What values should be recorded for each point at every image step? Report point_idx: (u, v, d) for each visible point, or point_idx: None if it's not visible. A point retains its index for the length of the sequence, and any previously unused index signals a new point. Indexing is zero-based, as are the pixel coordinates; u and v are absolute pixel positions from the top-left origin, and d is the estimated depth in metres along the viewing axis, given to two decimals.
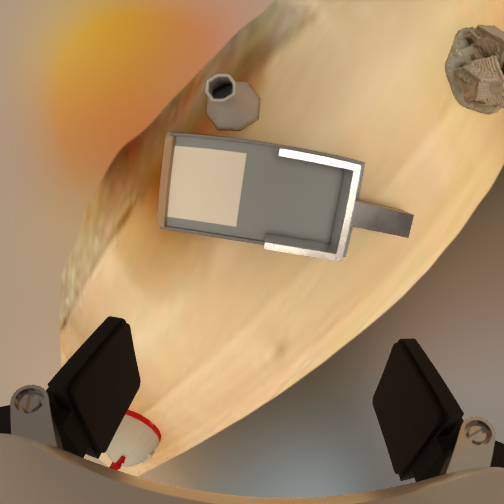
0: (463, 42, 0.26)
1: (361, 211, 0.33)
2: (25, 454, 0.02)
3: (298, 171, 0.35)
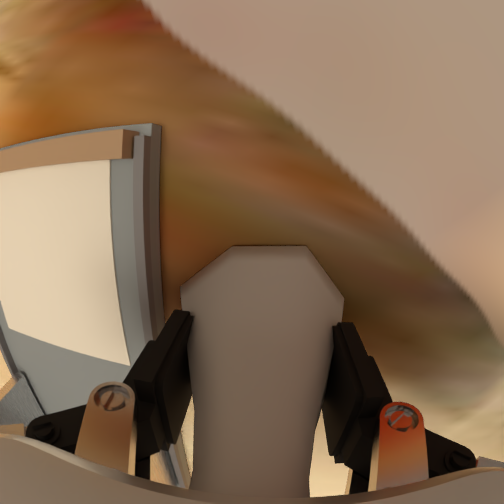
0: None
1: None
2: (25, 454, 0.02)
3: None
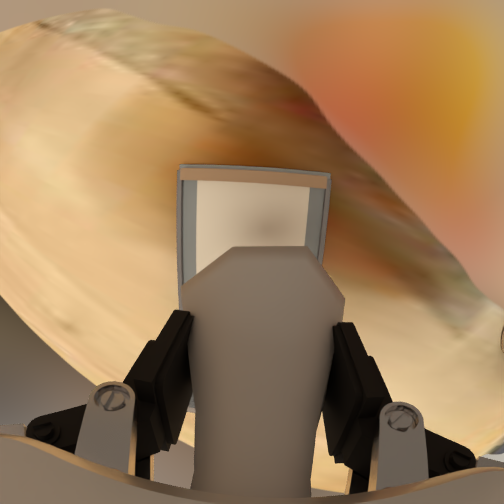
0: None
1: None
2: (25, 454, 0.02)
3: None
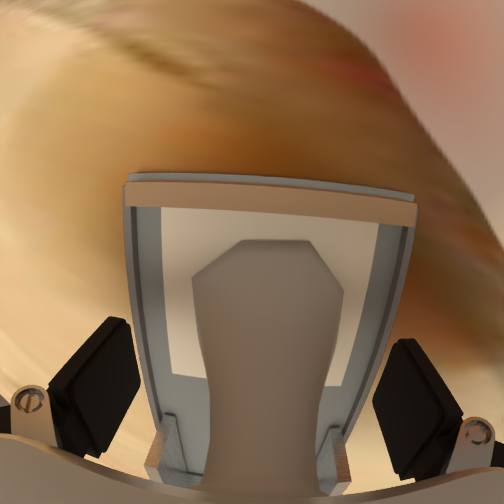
0: None
1: None
2: (25, 454, 0.02)
3: None
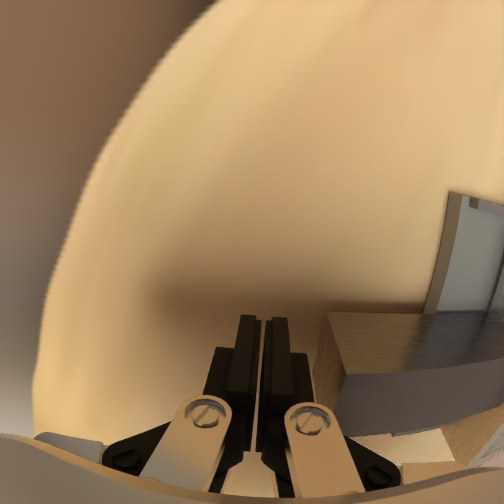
0: None
1: (492, 394, 0.07)
2: (25, 454, 0.02)
3: None
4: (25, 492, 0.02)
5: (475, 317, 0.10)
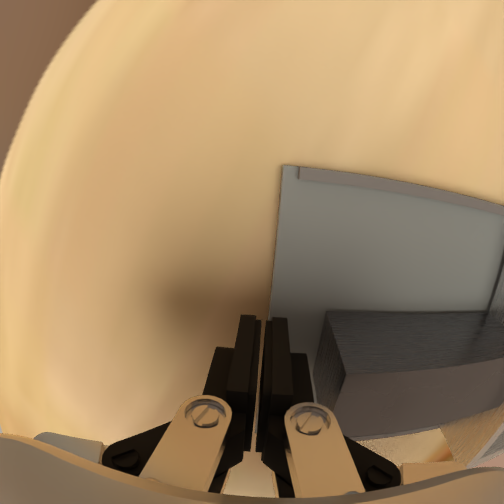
0: None
1: (492, 394, 0.07)
2: (25, 454, 0.02)
3: None
4: (25, 492, 0.02)
5: (475, 317, 0.10)
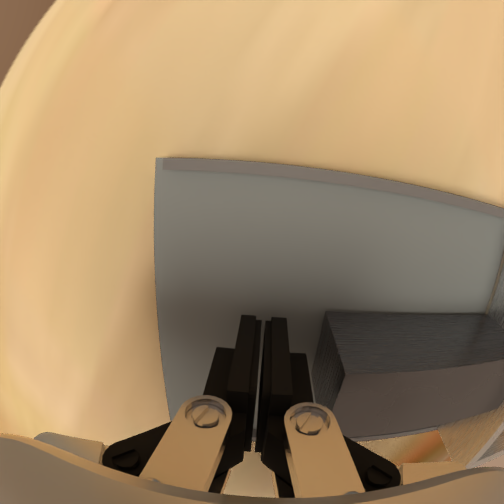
0: None
1: (490, 396, 0.07)
2: (25, 454, 0.02)
3: None
4: (25, 492, 0.02)
5: (474, 319, 0.10)
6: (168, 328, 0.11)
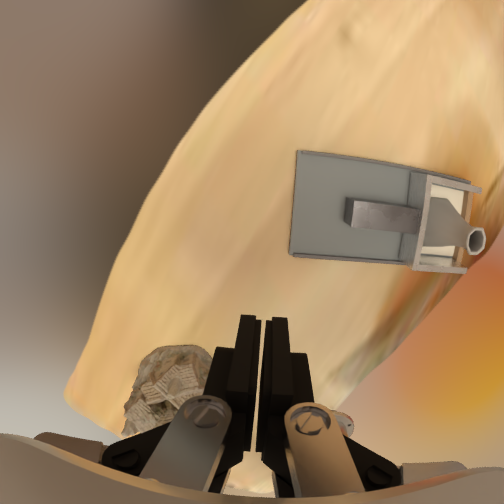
0: None
1: (408, 224, 0.30)
2: (25, 454, 0.02)
3: (356, 238, 0.35)
4: (25, 492, 0.02)
5: (399, 204, 0.33)
6: (297, 205, 0.35)
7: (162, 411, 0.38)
